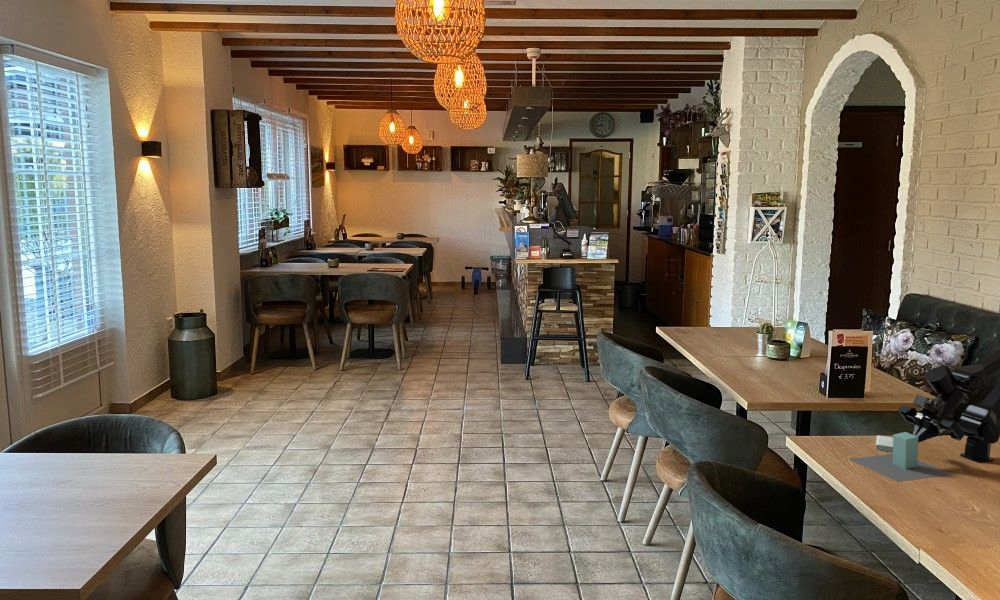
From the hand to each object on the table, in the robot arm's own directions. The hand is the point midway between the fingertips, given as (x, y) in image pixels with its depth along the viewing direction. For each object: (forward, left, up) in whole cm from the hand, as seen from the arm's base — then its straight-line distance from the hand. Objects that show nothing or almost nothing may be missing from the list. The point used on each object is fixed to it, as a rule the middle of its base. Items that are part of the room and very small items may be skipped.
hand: (912, 443), depth 218 cm
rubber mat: (+4, 0, -7) cm, 8 cm away
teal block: (+2, 0, -7) cm, 7 cm away
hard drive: (-8, -15, -7) cm, 19 cm away
